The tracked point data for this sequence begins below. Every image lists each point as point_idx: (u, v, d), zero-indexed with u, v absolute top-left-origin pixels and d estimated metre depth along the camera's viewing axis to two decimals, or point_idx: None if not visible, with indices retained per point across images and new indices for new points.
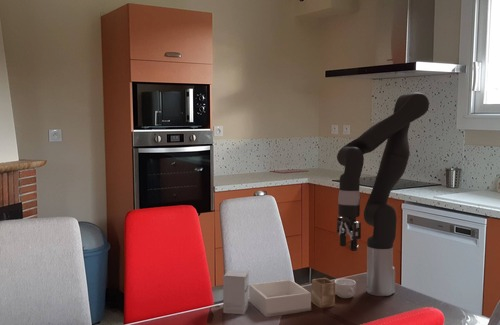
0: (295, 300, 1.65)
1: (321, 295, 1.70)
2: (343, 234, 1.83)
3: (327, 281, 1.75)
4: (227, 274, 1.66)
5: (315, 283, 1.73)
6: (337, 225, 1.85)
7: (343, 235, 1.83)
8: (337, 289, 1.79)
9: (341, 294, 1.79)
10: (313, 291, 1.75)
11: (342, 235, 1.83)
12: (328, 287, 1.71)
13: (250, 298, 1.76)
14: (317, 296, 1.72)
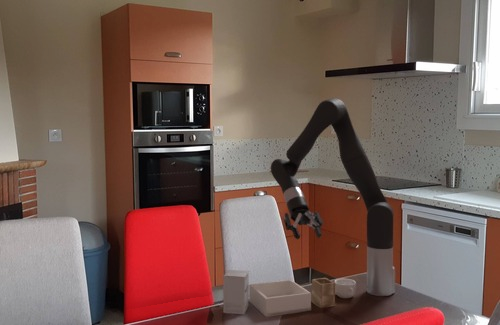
0: (295, 300, 1.65)
1: (321, 295, 1.70)
2: (315, 226, 1.86)
3: (327, 281, 1.75)
4: (227, 274, 1.66)
5: (315, 283, 1.73)
6: (317, 221, 1.90)
7: (315, 227, 1.86)
8: (337, 289, 1.79)
9: (341, 294, 1.79)
10: (313, 291, 1.75)
11: (315, 228, 1.86)
12: (328, 287, 1.71)
13: (250, 298, 1.76)
14: (317, 296, 1.72)
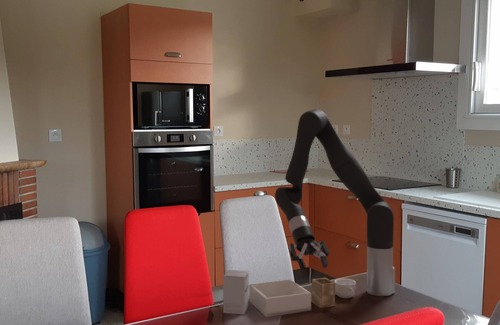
0: (295, 300, 1.65)
1: (321, 295, 1.70)
2: (321, 256, 1.83)
3: (327, 281, 1.75)
4: (227, 274, 1.66)
5: (315, 283, 1.73)
6: None
7: (321, 257, 1.83)
8: (337, 289, 1.79)
9: (341, 294, 1.79)
10: (313, 291, 1.75)
11: (321, 258, 1.83)
12: (328, 287, 1.71)
13: (250, 298, 1.76)
14: (317, 296, 1.72)
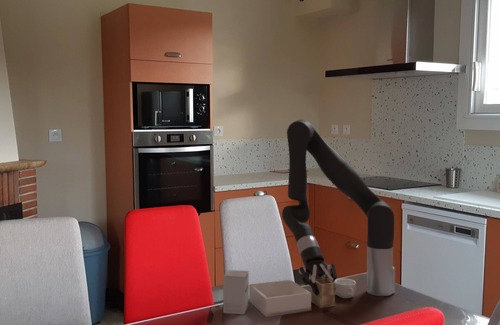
0: (295, 300, 1.65)
1: (321, 295, 1.70)
2: None
3: (327, 281, 1.75)
4: (227, 274, 1.66)
5: None
6: None
7: None
8: (337, 289, 1.79)
9: (341, 294, 1.79)
10: None
11: None
12: (328, 287, 1.71)
13: (250, 298, 1.76)
14: (317, 296, 1.72)
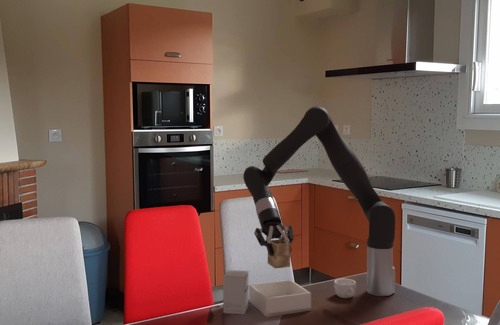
0: (295, 300, 1.65)
1: (275, 255, 1.67)
2: None
3: (283, 242, 1.72)
4: (227, 274, 1.66)
5: None
6: (289, 237, 1.76)
7: None
8: (337, 289, 1.79)
9: (341, 294, 1.79)
10: None
11: None
12: (283, 247, 1.68)
13: (250, 298, 1.76)
14: (272, 257, 1.69)
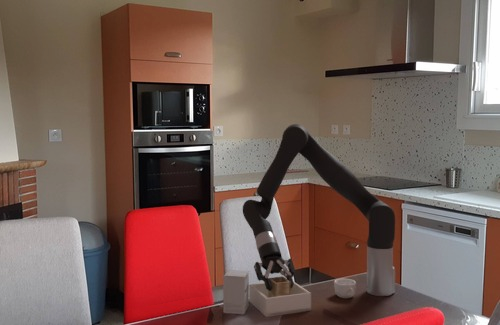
0: (295, 300, 1.65)
1: (276, 294, 1.68)
2: (287, 275, 1.74)
3: (283, 280, 1.73)
4: (227, 274, 1.66)
5: (271, 282, 1.71)
6: None
7: (287, 277, 1.74)
8: (337, 289, 1.79)
9: (341, 294, 1.79)
10: None
11: (287, 277, 1.74)
12: (284, 286, 1.69)
13: (250, 298, 1.76)
14: (272, 295, 1.70)
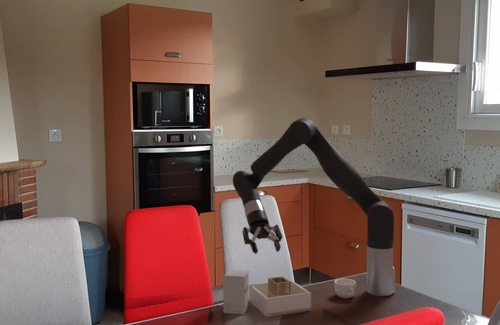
0: (295, 300, 1.65)
1: (276, 294, 1.68)
2: (274, 240, 1.85)
3: (283, 280, 1.73)
4: (227, 274, 1.66)
5: (271, 282, 1.71)
6: (277, 235, 1.88)
7: (274, 241, 1.84)
8: (337, 289, 1.79)
9: (341, 294, 1.79)
10: (269, 290, 1.73)
11: (274, 241, 1.85)
12: (284, 286, 1.69)
13: (250, 298, 1.76)
14: (272, 295, 1.70)
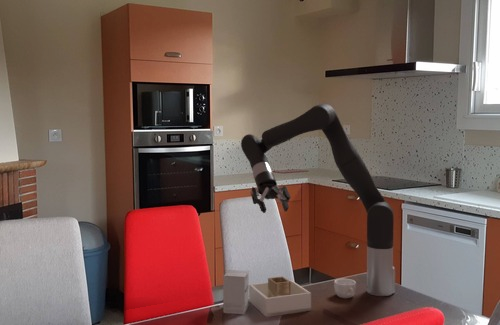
0: (295, 300, 1.65)
1: (276, 294, 1.68)
2: (282, 200, 1.87)
3: (283, 280, 1.73)
4: (227, 274, 1.66)
5: (271, 282, 1.71)
6: None
7: (282, 201, 1.87)
8: (337, 289, 1.79)
9: (341, 294, 1.79)
10: (269, 290, 1.73)
11: (282, 202, 1.87)
12: (284, 286, 1.69)
13: (250, 298, 1.76)
14: (272, 295, 1.70)
